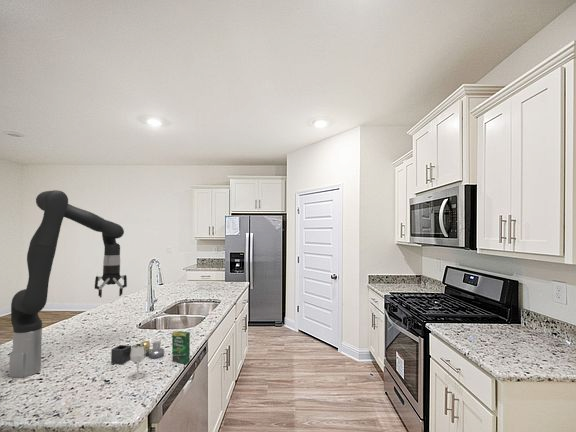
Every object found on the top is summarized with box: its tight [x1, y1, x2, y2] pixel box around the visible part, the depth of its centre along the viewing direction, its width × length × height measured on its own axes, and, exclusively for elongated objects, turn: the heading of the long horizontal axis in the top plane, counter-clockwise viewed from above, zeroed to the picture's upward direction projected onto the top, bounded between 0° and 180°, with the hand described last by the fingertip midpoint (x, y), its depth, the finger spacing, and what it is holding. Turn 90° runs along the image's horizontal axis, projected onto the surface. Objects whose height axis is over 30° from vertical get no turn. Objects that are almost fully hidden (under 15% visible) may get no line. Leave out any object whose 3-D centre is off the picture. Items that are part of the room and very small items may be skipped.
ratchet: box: [145, 340, 165, 360], centre depth 152 cm, size 6×18×6 cm, turn 81°
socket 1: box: [110, 344, 132, 365], centre depth 145 cm, size 6×6×6 cm
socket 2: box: [140, 340, 151, 350], centre depth 158 cm, size 4×4×4 cm
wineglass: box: [130, 343, 146, 380], centre depth 131 cm, size 6×6×12 cm
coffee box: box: [171, 330, 191, 365], centre depth 145 cm, size 8×3×13 cm, turn 66°
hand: (110, 296), depth 166 cm, fingers open, 8 cm apart
